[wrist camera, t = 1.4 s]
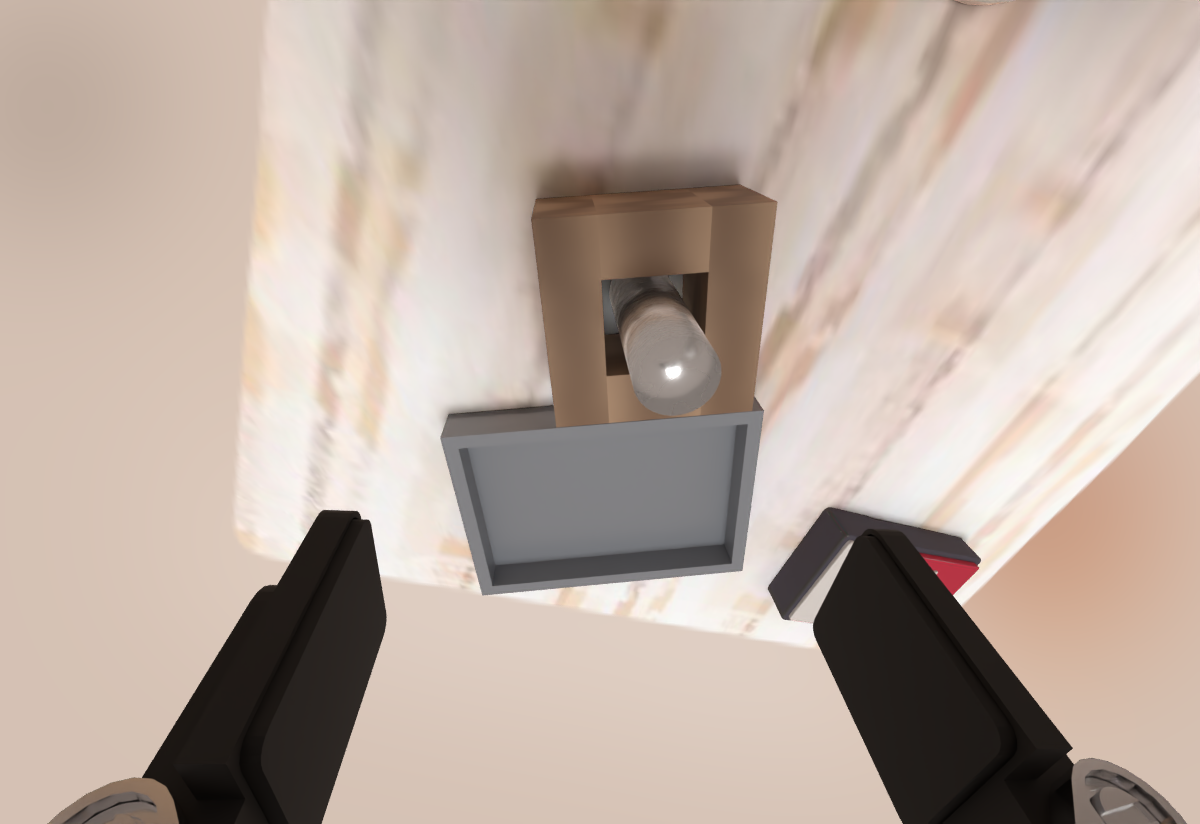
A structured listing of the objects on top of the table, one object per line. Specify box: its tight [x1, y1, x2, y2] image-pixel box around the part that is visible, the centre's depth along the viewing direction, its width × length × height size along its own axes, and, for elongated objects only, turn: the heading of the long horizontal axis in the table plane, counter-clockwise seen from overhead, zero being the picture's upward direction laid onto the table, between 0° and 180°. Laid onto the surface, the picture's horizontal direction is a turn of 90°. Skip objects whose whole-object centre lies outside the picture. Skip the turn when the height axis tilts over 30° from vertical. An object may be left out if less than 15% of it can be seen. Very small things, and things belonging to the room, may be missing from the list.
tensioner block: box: [531, 185, 777, 428], centre depth 30 cm, size 12×12×6 cm
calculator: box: [768, 508, 981, 623], centre depth 47 cm, size 11×4×15 cm
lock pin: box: [609, 275, 721, 416], centre depth 28 cm, size 4×4×12 cm
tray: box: [441, 397, 764, 595], centre depth 40 cm, size 22×16×3 cm
